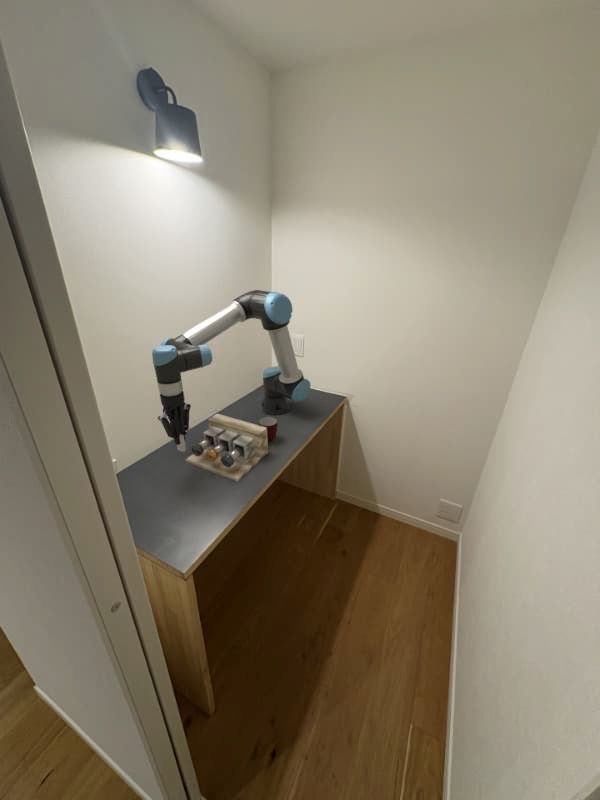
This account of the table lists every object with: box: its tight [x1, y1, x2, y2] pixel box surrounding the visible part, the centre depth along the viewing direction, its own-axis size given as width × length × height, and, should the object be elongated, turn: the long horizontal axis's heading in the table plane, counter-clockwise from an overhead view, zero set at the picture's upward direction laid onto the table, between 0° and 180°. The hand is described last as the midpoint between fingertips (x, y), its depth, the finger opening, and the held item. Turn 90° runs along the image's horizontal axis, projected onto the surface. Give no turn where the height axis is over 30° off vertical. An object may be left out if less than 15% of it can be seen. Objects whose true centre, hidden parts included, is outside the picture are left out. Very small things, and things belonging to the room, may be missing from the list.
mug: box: [258, 416, 278, 444], centre depth 139 cm, size 10×8×10 cm
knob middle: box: [206, 441, 229, 462], centre depth 124 cm, size 9×5×5 cm, turn 153°
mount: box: [185, 413, 269, 482], centre depth 128 cm, size 21×26×12 cm
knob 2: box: [221, 446, 244, 467], centre depth 121 cm, size 9×5×5 cm, turn 153°
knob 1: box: [190, 436, 214, 456], centre depth 127 cm, size 9×5×5 cm, turn 153°
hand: (181, 450), depth 116 cm, fingers closed
